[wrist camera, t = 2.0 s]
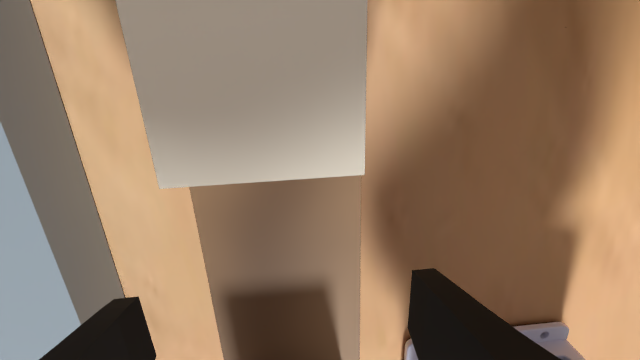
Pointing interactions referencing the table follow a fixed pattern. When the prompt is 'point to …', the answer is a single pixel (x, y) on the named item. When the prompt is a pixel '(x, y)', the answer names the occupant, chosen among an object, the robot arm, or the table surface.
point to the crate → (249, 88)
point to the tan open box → (283, 266)
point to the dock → (43, 204)
